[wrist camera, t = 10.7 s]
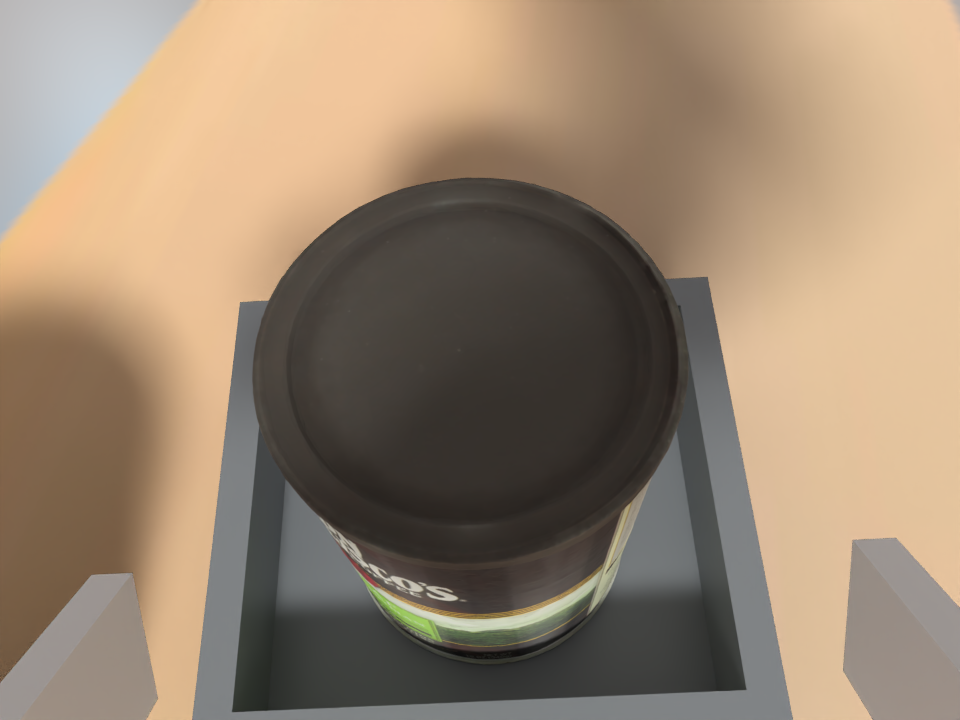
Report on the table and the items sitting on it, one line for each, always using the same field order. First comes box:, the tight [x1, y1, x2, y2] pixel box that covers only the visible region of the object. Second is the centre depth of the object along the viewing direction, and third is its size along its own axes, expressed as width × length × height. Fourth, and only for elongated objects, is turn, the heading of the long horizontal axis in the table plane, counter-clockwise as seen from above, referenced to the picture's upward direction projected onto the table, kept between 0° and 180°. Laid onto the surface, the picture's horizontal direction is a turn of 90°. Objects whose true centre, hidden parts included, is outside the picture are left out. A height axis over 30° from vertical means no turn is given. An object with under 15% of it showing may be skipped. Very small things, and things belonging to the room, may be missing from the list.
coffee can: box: [252, 178, 689, 665], centre depth 26 cm, size 10×10×14 cm
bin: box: [192, 277, 793, 720], centre depth 32 cm, size 18×16×7 cm
